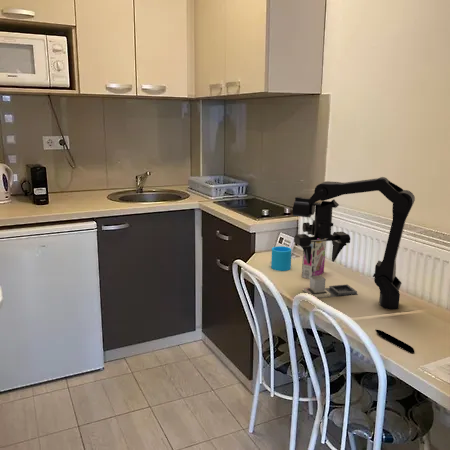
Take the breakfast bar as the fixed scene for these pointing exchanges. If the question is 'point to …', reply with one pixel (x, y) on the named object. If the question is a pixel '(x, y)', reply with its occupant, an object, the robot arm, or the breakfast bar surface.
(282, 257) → the mug
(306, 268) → the candy bar box
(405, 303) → the breakfast bar surface
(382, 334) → the pen
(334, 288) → the dark grey double tray
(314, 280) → the block
